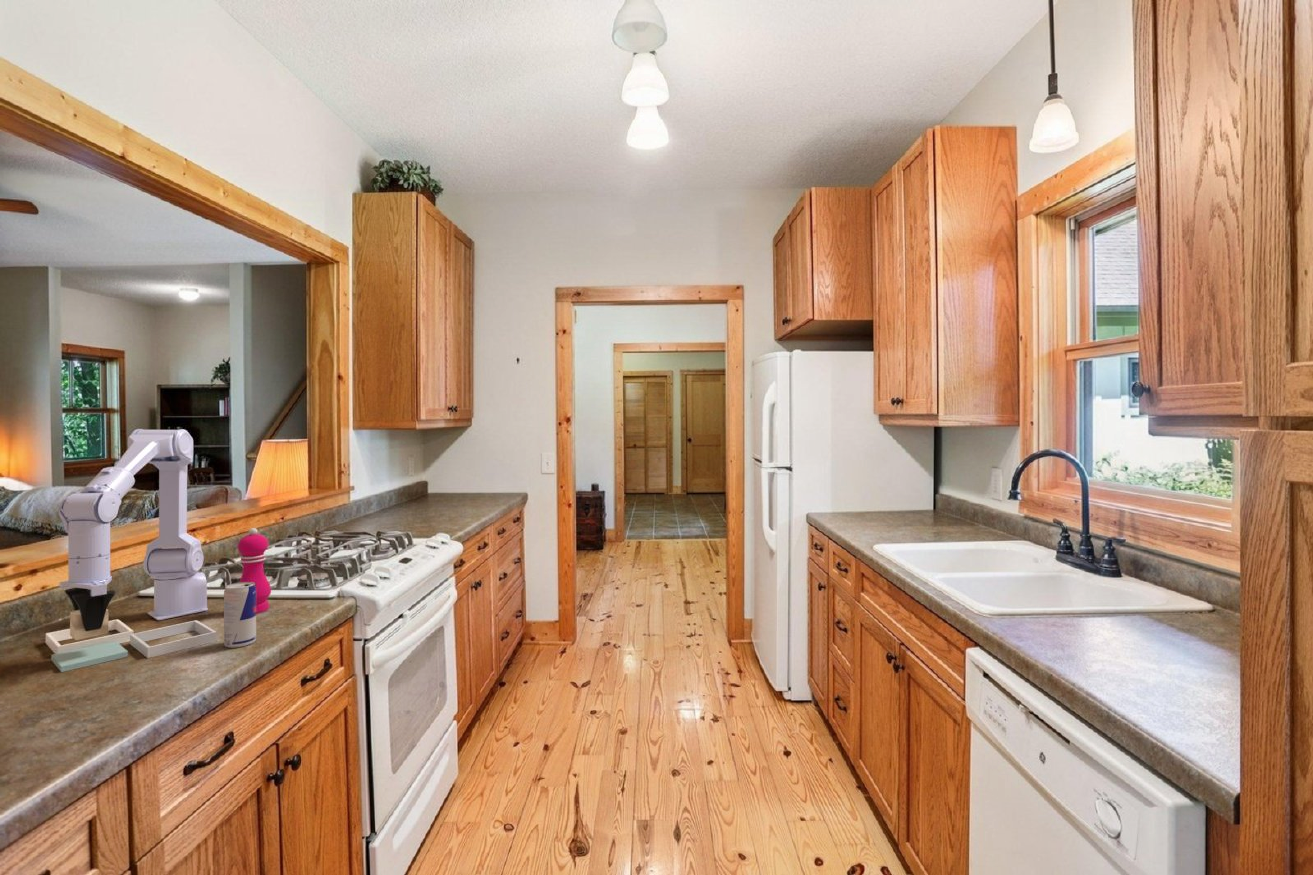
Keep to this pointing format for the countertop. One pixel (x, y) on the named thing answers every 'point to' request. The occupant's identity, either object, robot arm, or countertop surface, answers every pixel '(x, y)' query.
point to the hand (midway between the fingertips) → (89, 626)
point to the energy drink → (239, 614)
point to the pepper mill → (255, 566)
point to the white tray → (65, 634)
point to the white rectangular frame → (151, 651)
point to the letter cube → (78, 628)
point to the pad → (88, 656)
